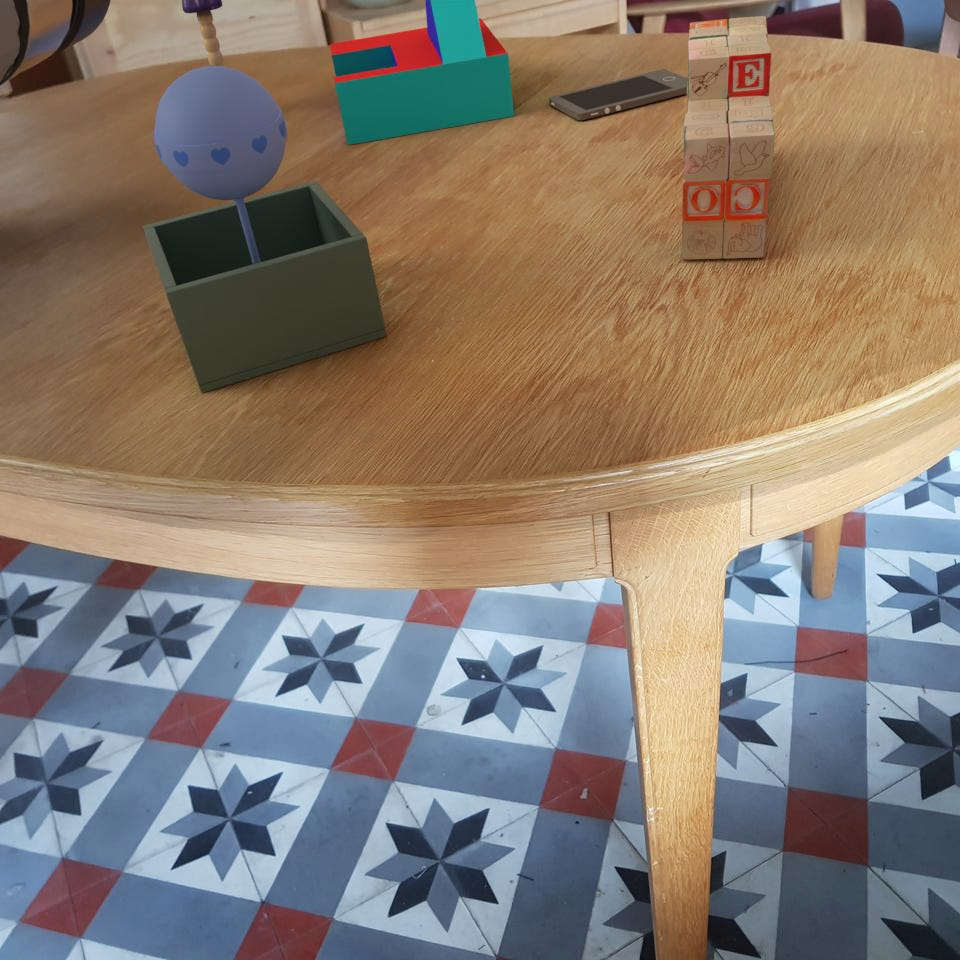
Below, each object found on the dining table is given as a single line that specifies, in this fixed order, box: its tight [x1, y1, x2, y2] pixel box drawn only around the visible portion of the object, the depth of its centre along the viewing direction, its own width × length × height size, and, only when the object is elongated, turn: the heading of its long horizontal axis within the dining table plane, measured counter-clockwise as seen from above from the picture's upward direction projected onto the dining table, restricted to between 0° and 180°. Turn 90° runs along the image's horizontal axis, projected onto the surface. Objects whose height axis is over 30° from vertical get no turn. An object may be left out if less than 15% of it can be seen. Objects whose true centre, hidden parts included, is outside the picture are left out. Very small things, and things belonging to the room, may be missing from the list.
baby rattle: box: [153, 65, 288, 264], centre depth 66 cm, size 9×9×18 cm
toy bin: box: [142, 180, 388, 394], centre depth 70 cm, size 14×14×8 cm
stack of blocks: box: [681, 15, 776, 260], centre depth 75 cm, size 21×6×12 cm, turn 169°
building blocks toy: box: [329, 0, 515, 146], centre depth 110 cm, size 19×25×18 cm
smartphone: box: [548, 68, 688, 121], centre depth 105 cm, size 15×8×1 cm, turn 111°
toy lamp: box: [181, 0, 226, 67], centre depth 114 cm, size 5×5×17 cm
